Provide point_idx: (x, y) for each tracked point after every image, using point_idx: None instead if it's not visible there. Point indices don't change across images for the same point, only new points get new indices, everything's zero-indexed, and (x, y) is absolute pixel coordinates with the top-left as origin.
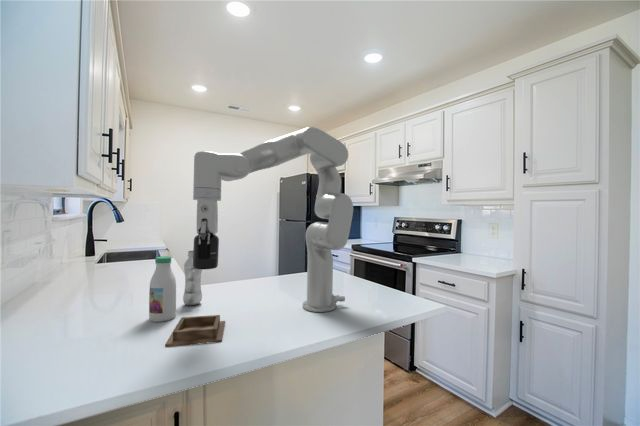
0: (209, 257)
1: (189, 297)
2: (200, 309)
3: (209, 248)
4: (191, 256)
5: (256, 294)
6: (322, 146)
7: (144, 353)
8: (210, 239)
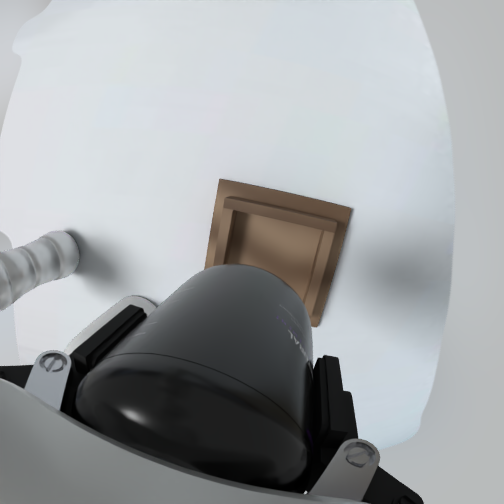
0: (336, 363)
1: (68, 266)
2: (102, 234)
3: (340, 411)
4: None
5: (48, 86)
6: None
7: (327, 355)
8: (307, 469)
